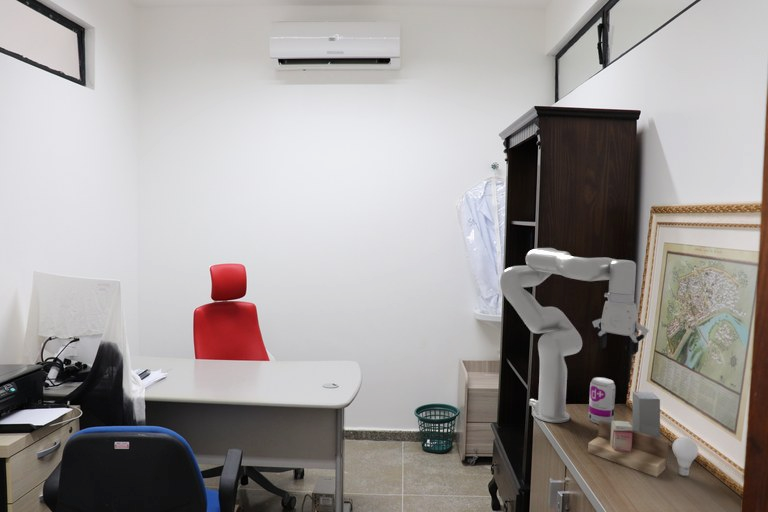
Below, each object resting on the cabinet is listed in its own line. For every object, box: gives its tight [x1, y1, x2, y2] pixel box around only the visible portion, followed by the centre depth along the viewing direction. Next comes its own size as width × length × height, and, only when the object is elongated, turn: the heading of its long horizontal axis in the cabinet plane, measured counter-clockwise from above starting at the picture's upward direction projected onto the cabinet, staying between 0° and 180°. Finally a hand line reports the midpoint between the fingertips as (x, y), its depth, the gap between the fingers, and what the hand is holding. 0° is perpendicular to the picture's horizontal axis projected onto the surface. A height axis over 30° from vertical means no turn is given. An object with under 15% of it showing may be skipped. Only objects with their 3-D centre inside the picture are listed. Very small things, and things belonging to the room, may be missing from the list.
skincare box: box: [632, 390, 661, 438], centre depth 167 cm, size 8×7×16 cm
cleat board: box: [587, 420, 670, 478], centre depth 154 cm, size 20×8×8 cm, turn 44°
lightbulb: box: [671, 436, 699, 477], centre depth 145 cm, size 6×6×11 cm
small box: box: [610, 419, 633, 452], centre depth 155 cm, size 5×4×8 cm
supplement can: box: [588, 376, 616, 425], centre depth 183 cm, size 8×8×15 cm
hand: (618, 350), depth 164 cm, fingers open, 9 cm apart
